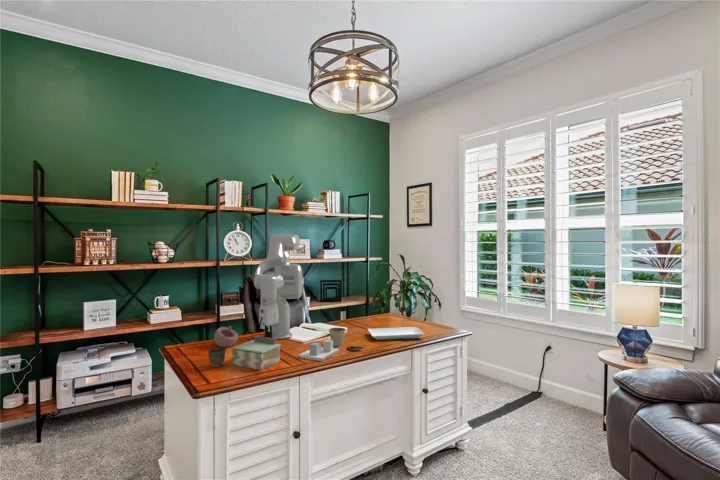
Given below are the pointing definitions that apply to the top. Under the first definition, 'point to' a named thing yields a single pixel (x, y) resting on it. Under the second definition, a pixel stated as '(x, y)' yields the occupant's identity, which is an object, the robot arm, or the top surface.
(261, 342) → the lid
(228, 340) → the mortar and pestle
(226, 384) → the top surface
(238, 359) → the birch box
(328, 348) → the beige block
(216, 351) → the cup
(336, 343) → the flower pot
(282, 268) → the robot arm
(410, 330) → the tray
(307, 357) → the white dish
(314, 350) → the grey block
